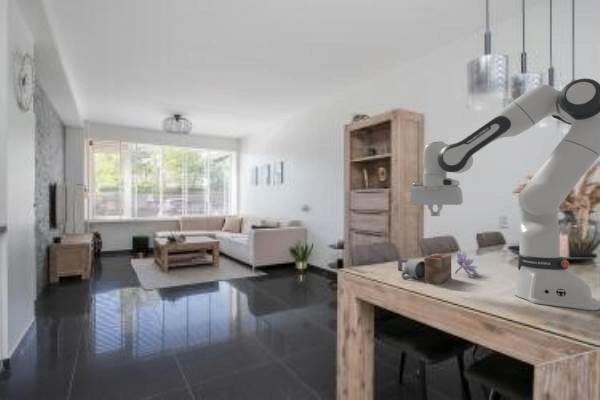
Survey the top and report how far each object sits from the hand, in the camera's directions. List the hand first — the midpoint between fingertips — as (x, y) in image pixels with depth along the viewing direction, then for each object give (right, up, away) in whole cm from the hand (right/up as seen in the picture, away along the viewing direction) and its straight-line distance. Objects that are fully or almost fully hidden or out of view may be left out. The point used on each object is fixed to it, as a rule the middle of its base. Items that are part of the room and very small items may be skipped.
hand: (435, 216), depth 132 cm
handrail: (-1, -27, +17) cm, 31 cm away
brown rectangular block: (+2, -27, +2) cm, 27 cm away
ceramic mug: (-6, -27, +7) cm, 29 cm away
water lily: (+19, -27, +11) cm, 35 cm away
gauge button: (0, -22, 0) cm, 22 cm away
